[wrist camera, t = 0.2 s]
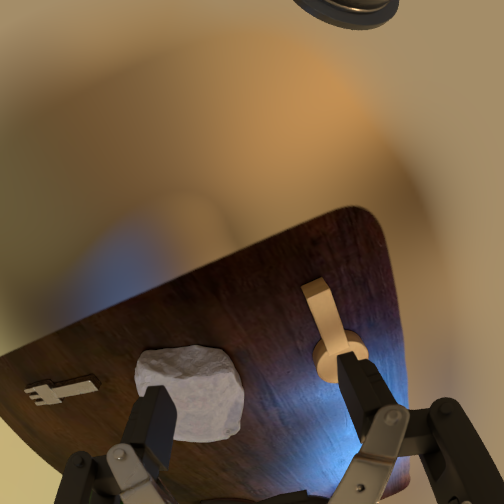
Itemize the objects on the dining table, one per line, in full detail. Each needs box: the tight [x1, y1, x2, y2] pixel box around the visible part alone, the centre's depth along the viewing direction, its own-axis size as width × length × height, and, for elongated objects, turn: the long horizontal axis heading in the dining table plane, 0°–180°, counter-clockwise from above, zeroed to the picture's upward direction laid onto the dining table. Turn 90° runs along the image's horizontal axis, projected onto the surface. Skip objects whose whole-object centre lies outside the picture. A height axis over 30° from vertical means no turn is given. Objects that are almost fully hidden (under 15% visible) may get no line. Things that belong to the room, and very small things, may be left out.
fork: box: [24, 374, 101, 405], centre depth 28 cm, size 14×3×1 cm, turn 113°
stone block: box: [135, 345, 244, 442], centre depth 27 cm, size 12×5×10 cm
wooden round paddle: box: [301, 277, 369, 383], centre depth 25 cm, size 11×5×2 cm, turn 24°
